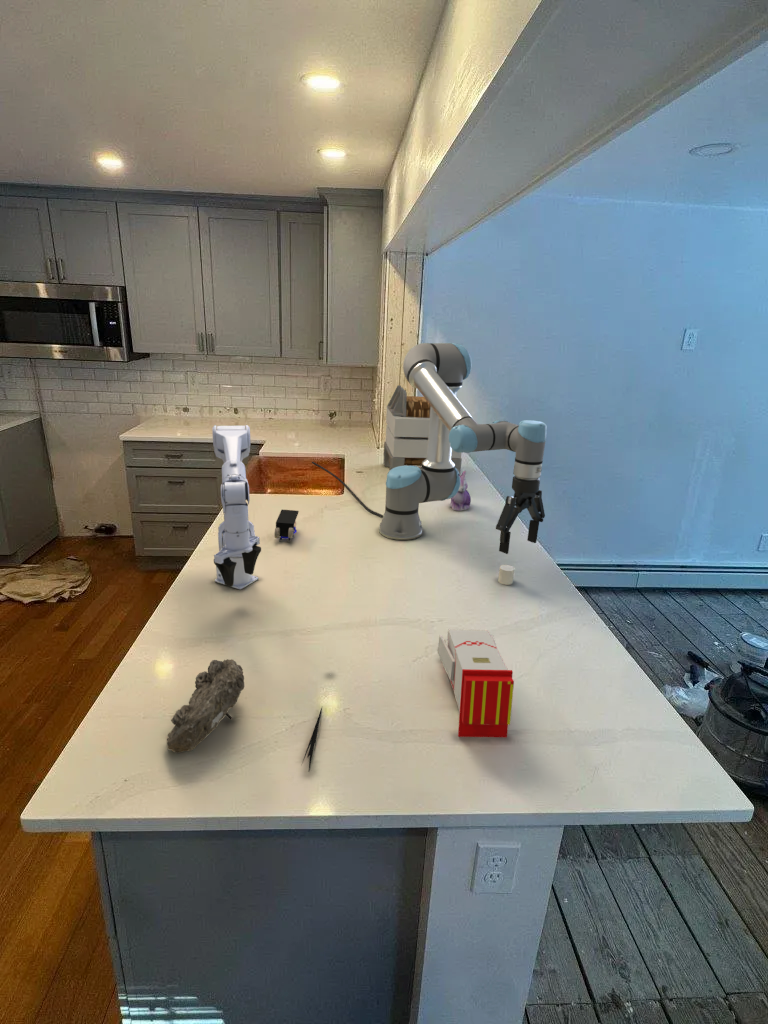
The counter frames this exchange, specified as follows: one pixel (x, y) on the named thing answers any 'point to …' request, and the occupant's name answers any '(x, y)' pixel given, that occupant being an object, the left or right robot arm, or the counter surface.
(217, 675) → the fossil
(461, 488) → the figurine
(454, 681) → the toy
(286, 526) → the black wheeled cart
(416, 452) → the white slatted crate
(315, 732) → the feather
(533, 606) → the counter surface
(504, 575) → the can
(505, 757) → the counter surface
